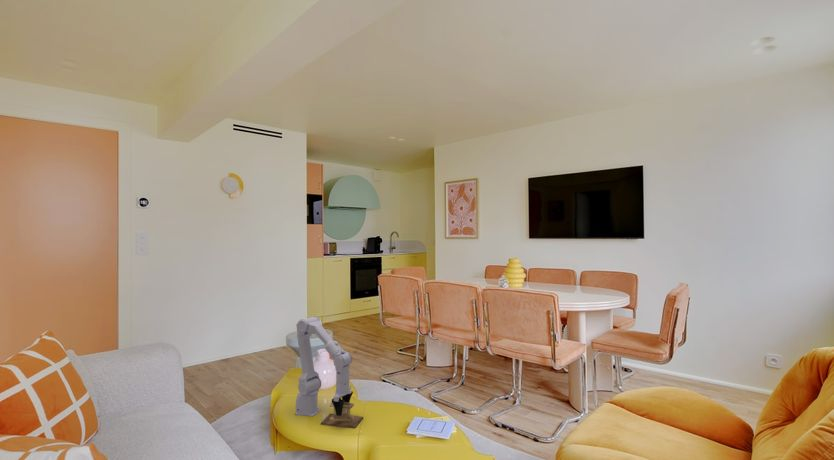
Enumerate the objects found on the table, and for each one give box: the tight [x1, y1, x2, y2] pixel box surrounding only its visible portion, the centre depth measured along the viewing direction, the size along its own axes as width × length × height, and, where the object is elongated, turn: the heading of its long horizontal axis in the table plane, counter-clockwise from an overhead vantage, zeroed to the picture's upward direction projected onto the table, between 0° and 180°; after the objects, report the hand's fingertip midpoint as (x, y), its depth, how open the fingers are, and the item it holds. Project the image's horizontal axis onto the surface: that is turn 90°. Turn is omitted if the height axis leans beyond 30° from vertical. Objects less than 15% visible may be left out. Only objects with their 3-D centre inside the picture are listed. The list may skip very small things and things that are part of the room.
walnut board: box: [320, 413, 364, 429], centre depth 176 cm, size 16×10×1 cm, turn 78°
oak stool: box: [329, 402, 355, 423], centre depth 177 cm, size 4×10×7 cm, turn 77°
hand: (342, 411), depth 177 cm, fingers open, 7 cm apart
